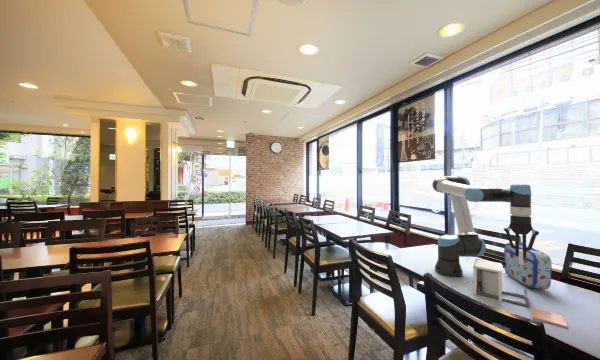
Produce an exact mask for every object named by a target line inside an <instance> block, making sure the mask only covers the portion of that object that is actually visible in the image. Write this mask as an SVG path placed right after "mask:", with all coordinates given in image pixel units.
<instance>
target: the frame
mask: <svg viewBox="0 0 600 360" xmlns="http://www.w3.org/2000/svg"><path fill="white" fill-rule="evenodd" d="M502 294H507V295H509V296H510V295H511V296H515V297H519V298H523V300H524V302H523V301H519V300H515V299H510V298H507V297H503V296H502V301H504V302H509V303H512V304H517V305H521V306H525V307H529V306H530V305H529V303H530V302H529V293H528V289H527V288H525V289H523V294H521V293H516V292H511V291H508V290H504V289H502ZM477 295H482V296H485V297H487V298H488V297H489V298H492V299H493V298H494V299H496V300H499V296H495V295H491V294H487V293H483V292H481V281H479V284H478V290H477Z"/></svg>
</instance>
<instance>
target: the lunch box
mask: <svg viewBox="0 0 600 360" xmlns="http://www.w3.org/2000/svg"><path fill="white" fill-rule="evenodd" d="M513 245H514V246H515V243H514V242H513ZM526 247H528V245H526ZM519 249H521V250H523V244H522V241H519ZM503 250H504V251H503V255H504V257H503V258H504V261H503V262H502V269H504V272H505V274H507V276H508V277H510V278H511V279H513V280H515V281H516V282H518V283H520V284H522V285H523V286H526V287H528V288H532V289H533V288H534V289H542V290H549V288H550V287H551V284H552V259H551V257H550V256H549V255H548V254H547V253H545V252H543V251H541V250H538V249H535V248H533V247H532V250H528V251H526V257H523V264H519V256H516V251H515V249H514V248H511V246H510V243H509V242H507V243H506V244H504V249H503Z"/></svg>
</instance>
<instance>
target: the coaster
mask: <svg viewBox="0 0 600 360" xmlns="http://www.w3.org/2000/svg"><path fill="white" fill-rule="evenodd" d="M529 309H530V312H531V316H532V320H536V321H539V322H543V323H547V324H550V323H551V324H552V325H554V326H558V327H562V328H565V329H568V327H569V326H568V324H567V322H566V319H565V317H564V315H562V314H558V313H555V312H550V311H547V310H543V309H539V308H536V307H532V306H531V307H530V308H529ZM551 324H550V325H551Z"/></svg>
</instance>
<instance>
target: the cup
mask: <svg viewBox="0 0 600 360" xmlns="http://www.w3.org/2000/svg"><path fill="white" fill-rule="evenodd" d="M480 292H483V293H487V294H491V295H495V296H499V273H498V272H493V271H488V270H483V269H481V291H480Z"/></svg>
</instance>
